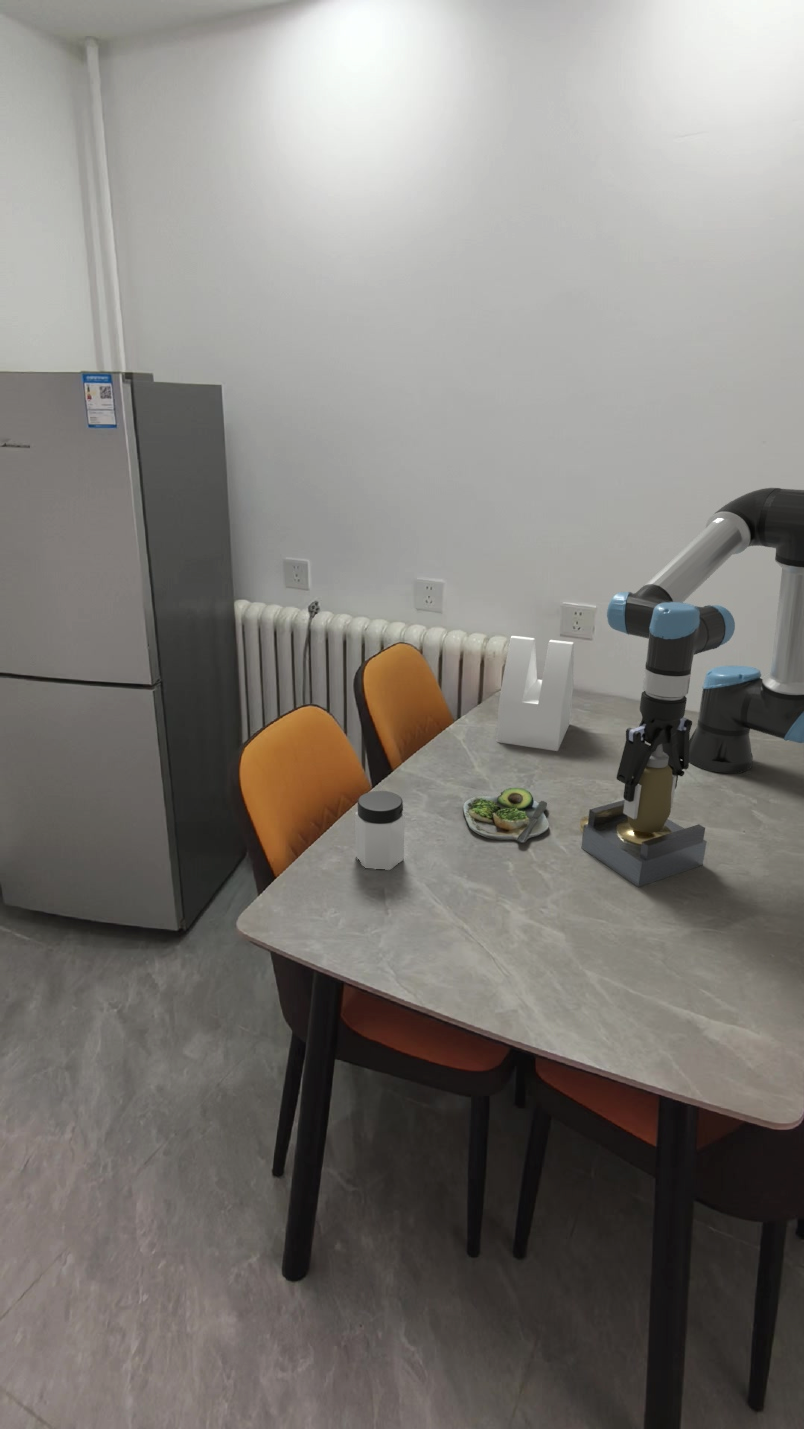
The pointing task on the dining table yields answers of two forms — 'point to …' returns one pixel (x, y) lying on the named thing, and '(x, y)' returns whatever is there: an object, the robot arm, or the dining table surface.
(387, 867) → the jar
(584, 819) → the brass dome knob
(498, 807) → the avocado toast plate
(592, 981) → the dining table surface
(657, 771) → the squeeze bottle
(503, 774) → the dining table surface
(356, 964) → the dining table surface
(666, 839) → the grey rimmed block
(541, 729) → the white notched stand
